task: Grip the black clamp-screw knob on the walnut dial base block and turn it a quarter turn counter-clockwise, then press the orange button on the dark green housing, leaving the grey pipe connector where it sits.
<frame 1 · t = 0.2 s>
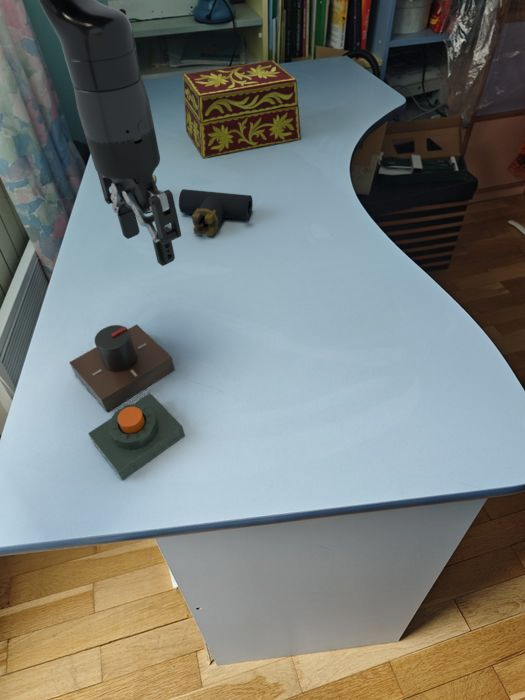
hand: (149, 248, 65), 19 cm above the table, tool pointing down, fingers open, 8 cm apart
decorative box: (242, 136, 134), on the table
dial base block: (125, 372, 76), on the table
button box: (138, 438, 67), on the table
pipe connector: (212, 223, 104), on the table
clamp knob: (116, 347, 72), point 6 cm above the table, hinge at 0.0°
button: (131, 420, 64), point 4 cm above the table, slide at 0.1 cm
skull: (143, 203, 111), on the table
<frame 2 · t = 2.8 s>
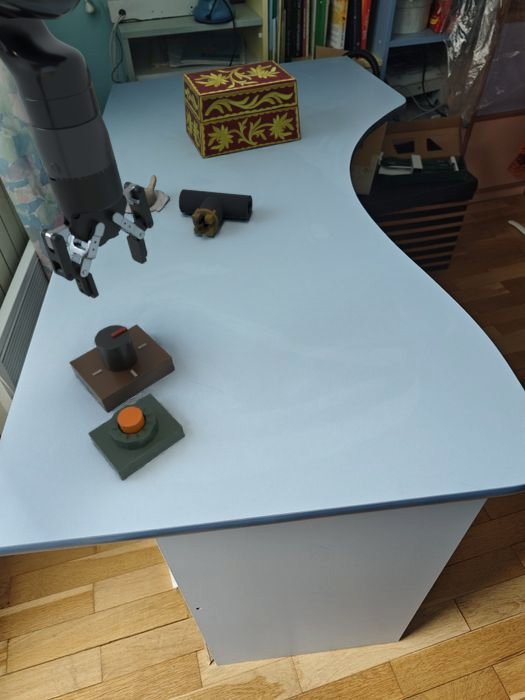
hand: (116, 277, 64), 17 cm above the table, tool pointing down, fingers open, 8 cm apart
nothing on the table moved.
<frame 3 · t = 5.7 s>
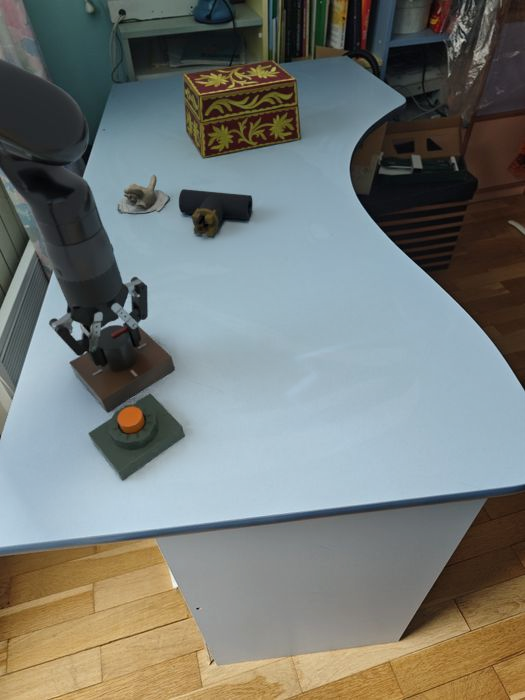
hand: (117, 353, 72), 4 cm above the table, tool pointing down, fingers closed on clamp knob, 5 cm apart
clamp knob: (116, 347, 72), point 6 cm above the table, hinge at 0.0°, touching gripper
everything else where it was.
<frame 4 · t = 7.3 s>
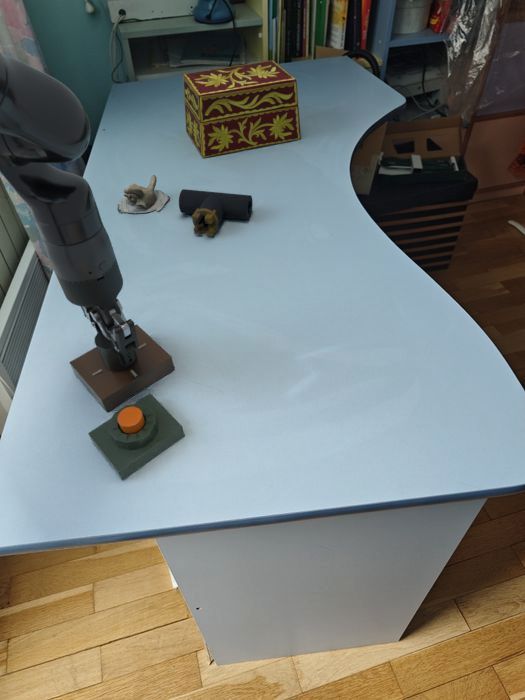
hand: (119, 352, 72), 4 cm above the table, tool pointing down, fingers closed on clamp knob, 5 cm apart
clamp knob: (116, 347, 72), point 6 cm above the table, hinge at 94.2°, touching gripper
everything else where it was.
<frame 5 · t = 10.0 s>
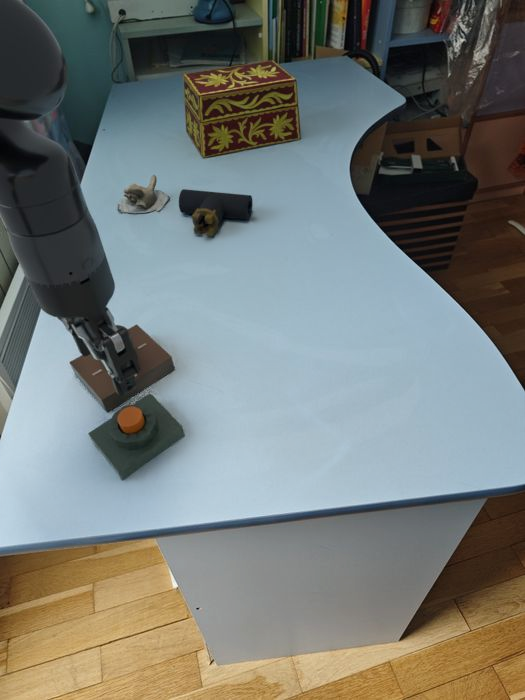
hand: (108, 370, 57), 14 cm above the table, tool pointing down, fingers open, 8 cm apart
clamp knob: (116, 347, 72), point 6 cm above the table, hinge at 93.8°
everything else where it was.
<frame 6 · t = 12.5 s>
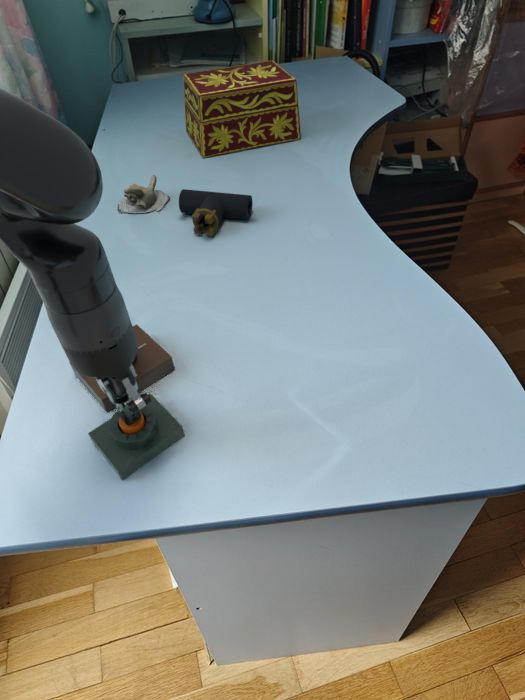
hand: (131, 418, 64), 5 cm above the table, tool pointing down, fingers closed
button: (132, 422, 64), point 4 cm above the table, slide at -0.5 cm, touching gripper
everything else where it was.
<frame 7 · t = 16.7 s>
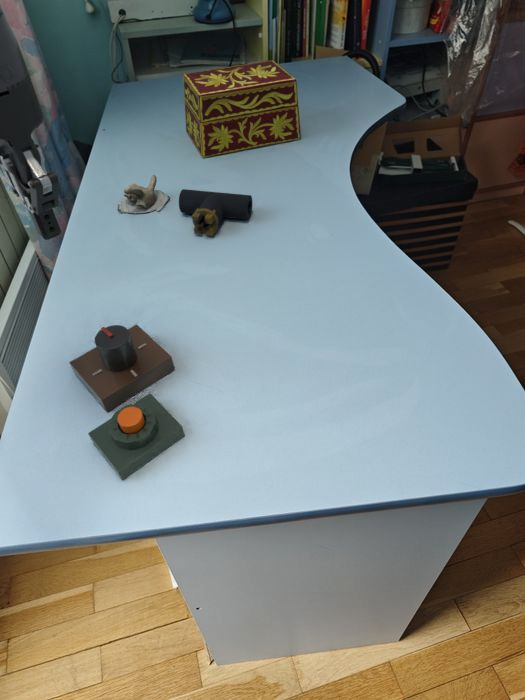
hand: (50, 234, 58), 25 cm above the table, tool pointing down, fingers closed
button: (131, 420, 64), point 4 cm above the table, slide at 0.1 cm
everything else where it was.
at the end: clamp knob at +94° (first picture: +0°); button pushed in 1.1 cm at the most during the clip, back to where it started at the end; pipe connector moved 0.2 cm from its start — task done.
